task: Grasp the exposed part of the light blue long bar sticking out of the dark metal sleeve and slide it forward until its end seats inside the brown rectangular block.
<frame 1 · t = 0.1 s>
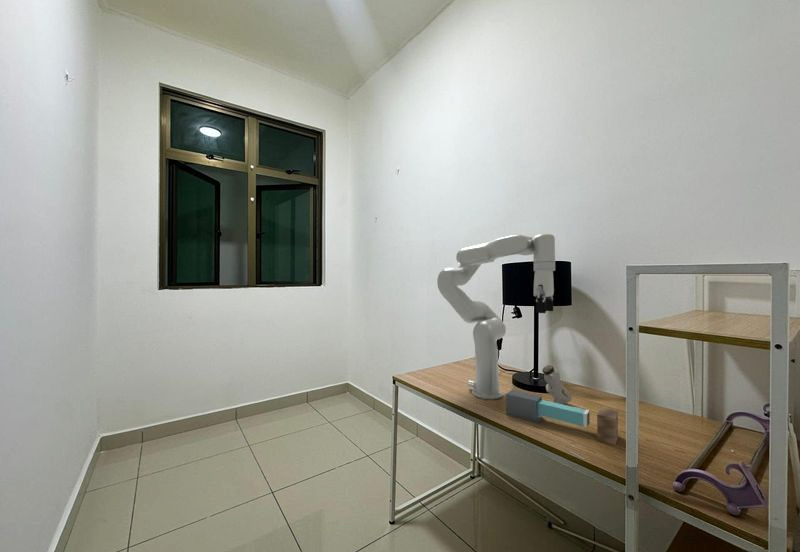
hand: (545, 311, 122), 37 cm above the table, tool pointing down, fingers open, 9 cm apart
sleeve: (524, 416, 115), on the table
light blue long bar: (548, 409, 110), point 4 cm above the table, slide at 0.0 cm
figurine: (557, 404, 125), on the table
brown rectangular block: (608, 438, 99), on the table
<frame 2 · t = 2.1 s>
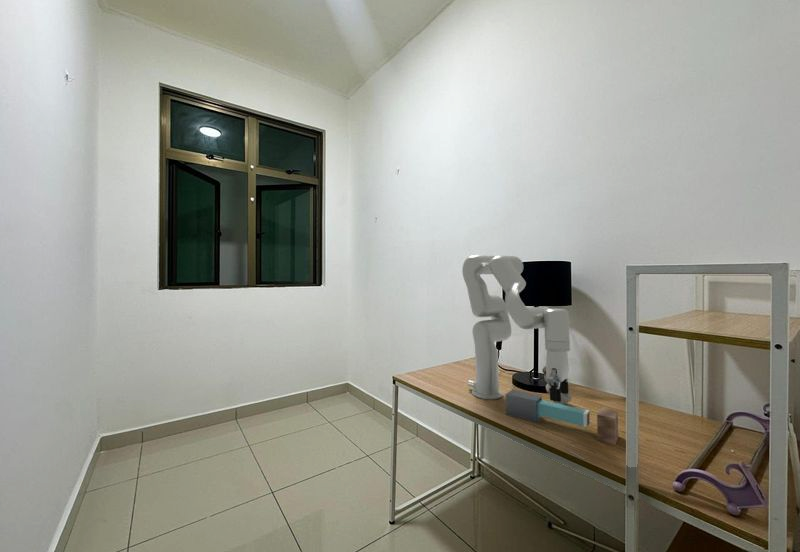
hand: (559, 396, 107), 10 cm above the table, tool pointing down, fingers open, 9 cm apart
nothing on the table moved.
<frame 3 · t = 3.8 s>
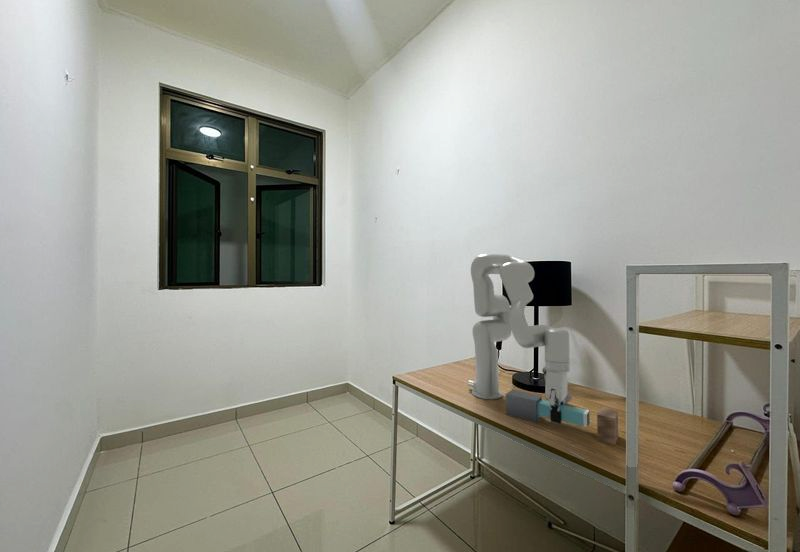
hand: (557, 419, 108), 2 cm above the table, tool pointing down, fingers closed on light blue long bar, 4 cm apart
light blue long bar: (548, 409, 110), point 4 cm above the table, slide at 0.0 cm, touching gripper
everything else where it was.
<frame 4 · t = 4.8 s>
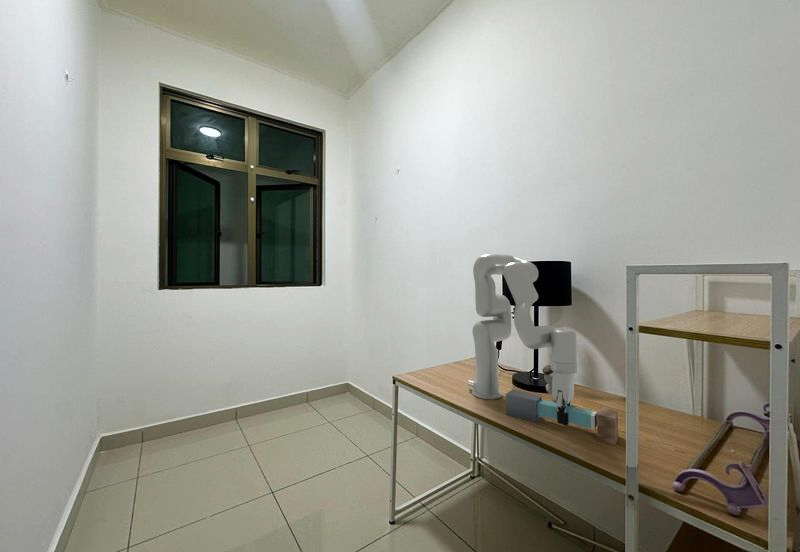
hand: (564, 421, 106), 2 cm above the table, tool pointing down, fingers closed on light blue long bar, 4 cm apart
light blue long bar: (554, 410, 108), point 4 cm above the table, slide at 2.1 cm, touching gripper
everything else where it was.
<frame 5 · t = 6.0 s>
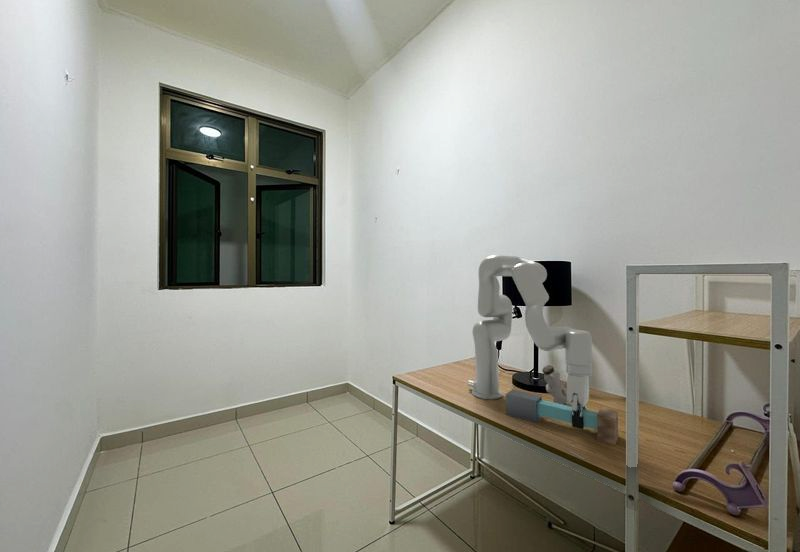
hand: (579, 424, 104), 2 cm above the table, tool pointing down, fingers closed on light blue long bar, 4 cm apart
light blue long bar: (569, 414, 106), point 5 cm above the table, slide at 6.5 cm, touching gripper
everything else where it was.
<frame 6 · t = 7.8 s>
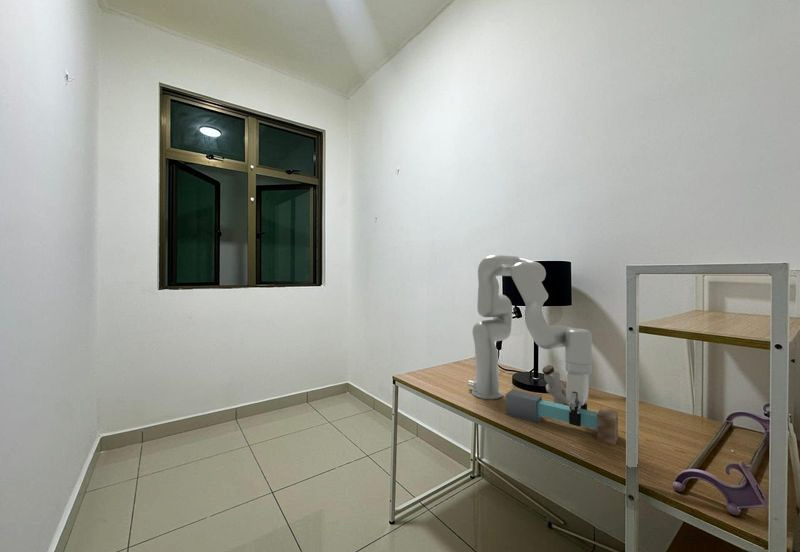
hand: (578, 419, 104), 3 cm above the table, tool pointing down, fingers open, 9 cm apart
light blue long bar: (569, 414, 106), point 4 cm above the table, slide at 6.5 cm
everything else where it was.
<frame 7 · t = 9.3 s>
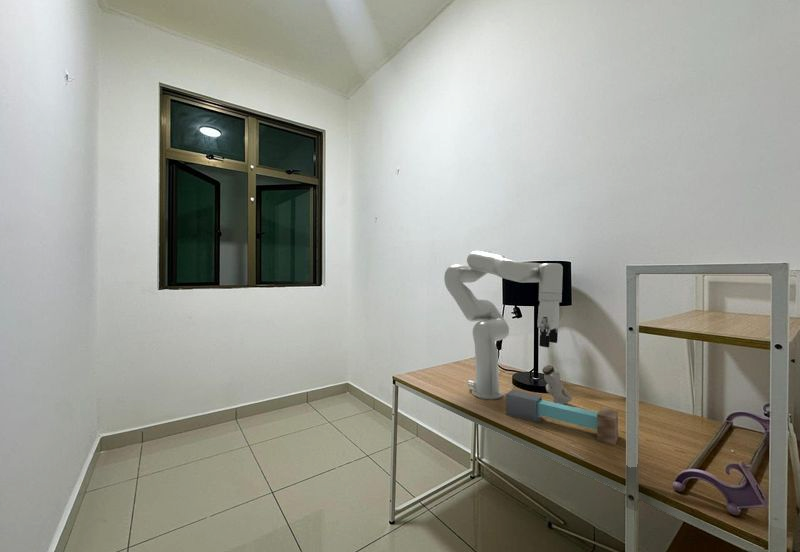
hand: (548, 344, 116), 25 cm above the table, tool pointing down, fingers open, 9 cm apart
nothing on the table moved.
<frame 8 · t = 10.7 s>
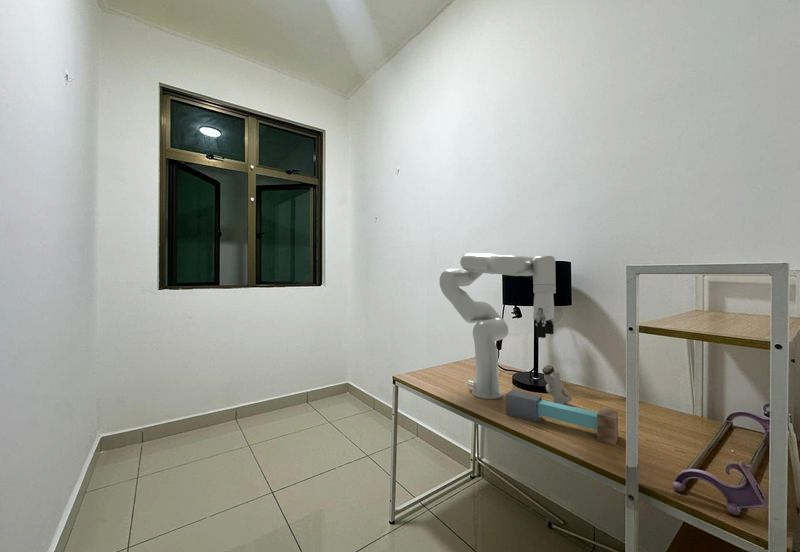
hand: (545, 335, 118), 28 cm above the table, tool pointing down, fingers open, 9 cm apart
nothing on the table moved.
at the end: light blue long bar slide at 6.5 cm; the gripper is holding nothing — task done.
